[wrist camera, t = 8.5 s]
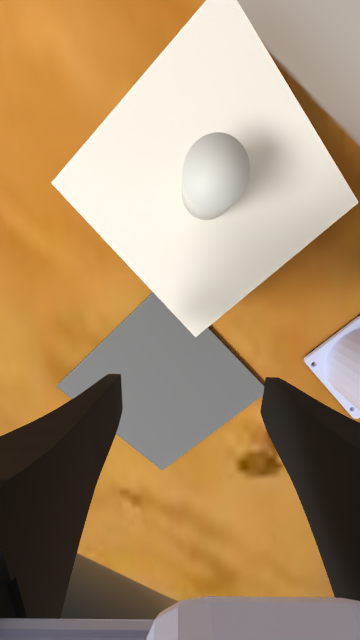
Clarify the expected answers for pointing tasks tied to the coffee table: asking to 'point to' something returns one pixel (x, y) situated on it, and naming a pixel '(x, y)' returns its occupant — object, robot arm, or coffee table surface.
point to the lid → (207, 170)
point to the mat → (167, 382)
